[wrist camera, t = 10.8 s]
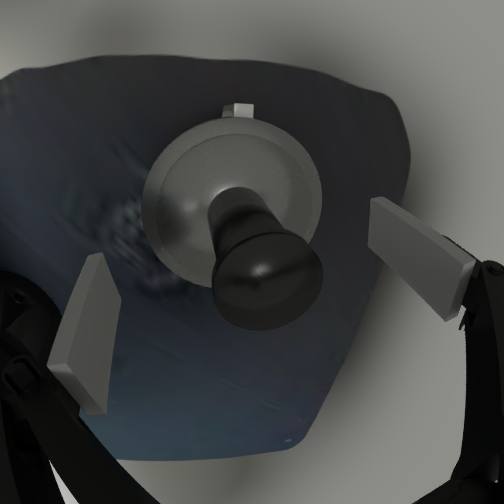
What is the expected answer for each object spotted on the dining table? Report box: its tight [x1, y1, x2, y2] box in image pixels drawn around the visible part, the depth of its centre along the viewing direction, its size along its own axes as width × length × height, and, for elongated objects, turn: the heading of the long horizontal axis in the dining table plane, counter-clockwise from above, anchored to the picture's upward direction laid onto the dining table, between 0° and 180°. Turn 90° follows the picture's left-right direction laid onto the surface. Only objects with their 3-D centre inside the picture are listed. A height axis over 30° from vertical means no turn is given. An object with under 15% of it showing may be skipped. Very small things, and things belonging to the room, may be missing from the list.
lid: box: [141, 116, 323, 330], centre depth 15 cm, size 11×11×9 cm
